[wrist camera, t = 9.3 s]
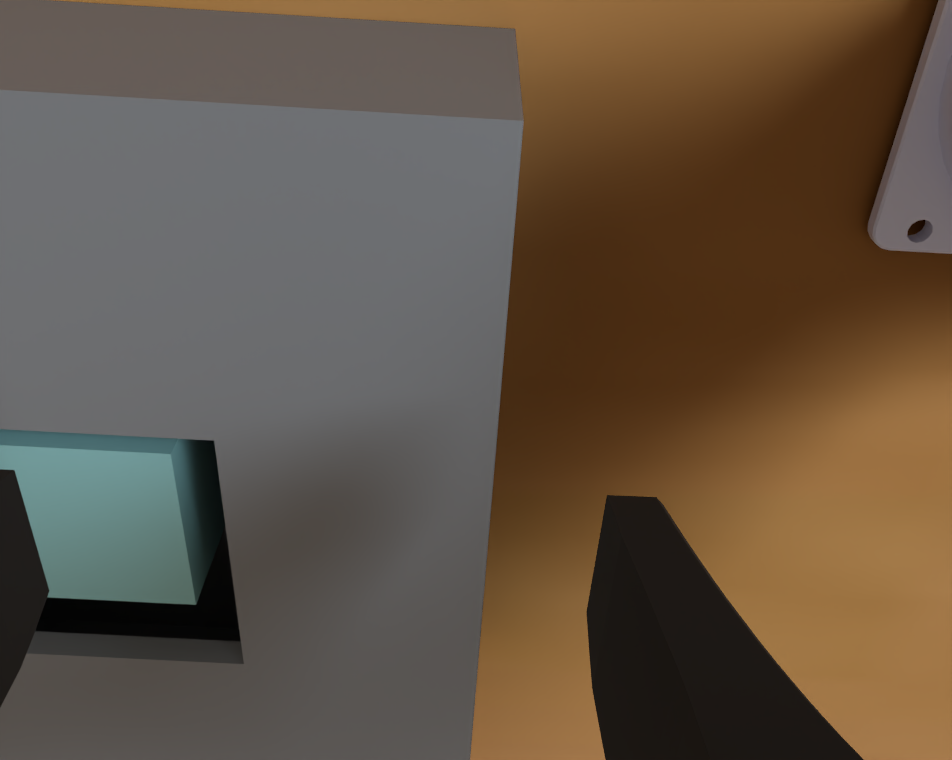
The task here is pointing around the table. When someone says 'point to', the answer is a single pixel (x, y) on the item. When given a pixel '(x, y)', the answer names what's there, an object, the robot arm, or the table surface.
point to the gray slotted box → (265, 362)
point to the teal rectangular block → (119, 512)
